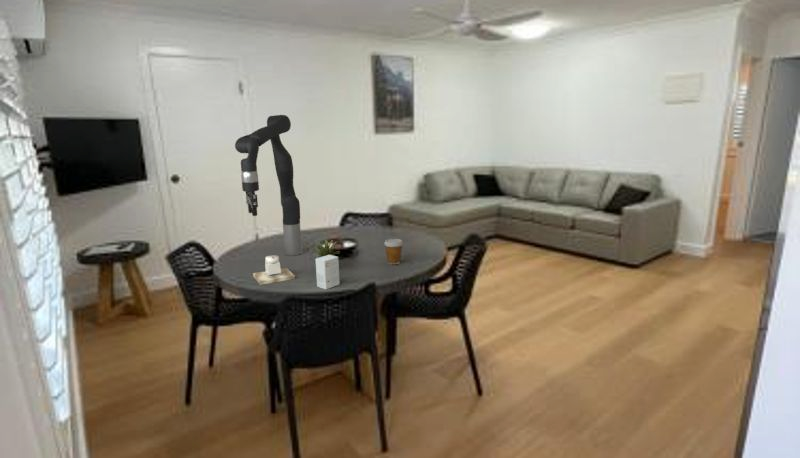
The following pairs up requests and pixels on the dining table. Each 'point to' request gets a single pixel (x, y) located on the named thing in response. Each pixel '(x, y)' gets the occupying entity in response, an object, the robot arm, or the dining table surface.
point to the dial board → (273, 276)
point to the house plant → (326, 249)
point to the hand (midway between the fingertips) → (252, 214)
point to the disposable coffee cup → (393, 250)
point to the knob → (272, 265)
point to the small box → (327, 271)
